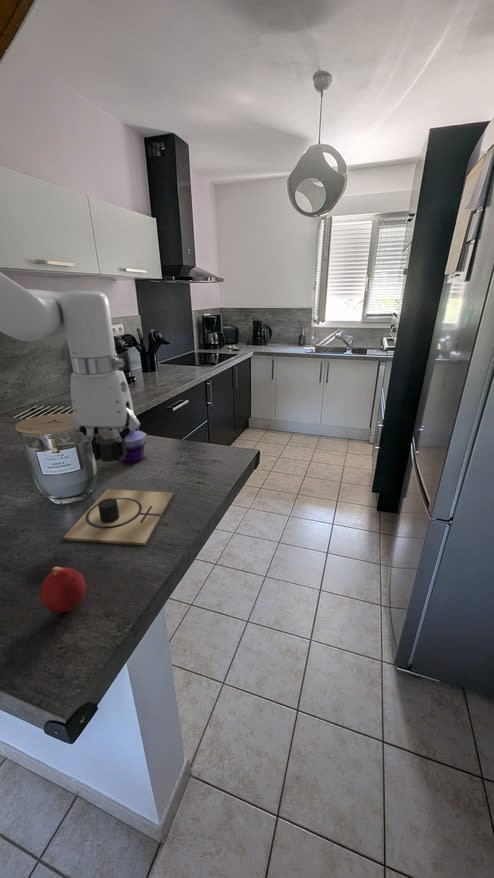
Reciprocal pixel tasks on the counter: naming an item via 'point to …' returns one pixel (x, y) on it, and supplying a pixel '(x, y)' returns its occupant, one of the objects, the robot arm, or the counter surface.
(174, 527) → the counter surface
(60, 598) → the onion
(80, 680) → the counter surface
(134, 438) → the potion bottle
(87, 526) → the board
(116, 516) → the dot
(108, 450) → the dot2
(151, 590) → the counter surface
